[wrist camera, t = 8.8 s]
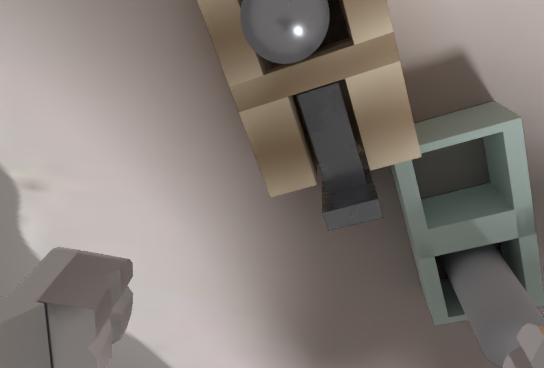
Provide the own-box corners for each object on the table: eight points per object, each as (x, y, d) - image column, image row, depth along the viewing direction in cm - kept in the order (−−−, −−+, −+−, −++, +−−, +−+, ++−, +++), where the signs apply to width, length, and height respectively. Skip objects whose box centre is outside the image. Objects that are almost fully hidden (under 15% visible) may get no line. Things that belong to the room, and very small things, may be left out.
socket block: (207, -25, 26) (185, -28, 22) (356, -85, 24) (363, -101, 20) (277, 169, 30) (270, 197, 26) (406, 133, 28) (421, 157, 24)
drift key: (292, 89, 27) (287, 107, 23) (343, 73, 26) (347, 88, 22) (327, 196, 29) (328, 230, 25) (373, 184, 29) (383, 217, 25)
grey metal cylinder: (334, 29, 26) (339, 47, 18) (278, 48, 27) (257, 74, 18) (317, -34, 25) (314, -47, 16) (259, -12, 26) (227, -14, 17)
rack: (519, 269, 32) (595, 373, 23) (422, 289, 33) (458, 394, 25) (494, 100, 27) (575, 151, 18) (382, 132, 29) (409, 193, 20)
